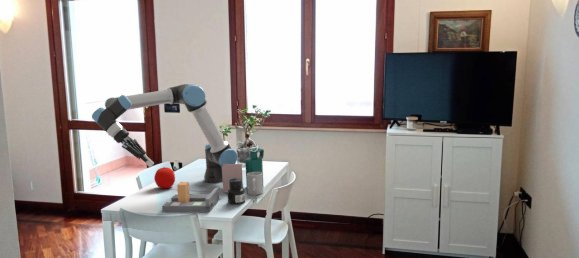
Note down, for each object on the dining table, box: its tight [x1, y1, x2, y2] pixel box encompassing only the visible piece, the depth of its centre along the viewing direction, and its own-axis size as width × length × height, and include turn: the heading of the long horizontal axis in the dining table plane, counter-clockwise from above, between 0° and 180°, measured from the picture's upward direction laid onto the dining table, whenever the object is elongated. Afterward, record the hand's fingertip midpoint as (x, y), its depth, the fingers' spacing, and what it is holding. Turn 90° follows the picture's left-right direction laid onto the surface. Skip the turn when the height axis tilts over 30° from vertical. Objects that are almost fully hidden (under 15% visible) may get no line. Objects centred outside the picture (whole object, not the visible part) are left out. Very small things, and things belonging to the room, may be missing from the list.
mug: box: [246, 172, 264, 196], centre depth 253 cm, size 12×8×11 cm
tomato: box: [154, 166, 176, 189], centre depth 270 cm, size 12×12×13 cm
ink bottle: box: [227, 178, 246, 205], centre depth 239 cm, size 10×9×12 cm
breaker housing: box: [161, 187, 221, 213], centre depth 236 cm, size 24×20×6 cm
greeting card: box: [222, 163, 244, 193], centre depth 260 cm, size 11×7×15 cm, turn 74°
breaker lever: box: [176, 181, 190, 202], centre depth 235 cm, size 4×6×10 cm, turn 175°
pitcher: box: [244, 147, 265, 186], centre depth 266 cm, size 10×8×22 cm
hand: (152, 165), depth 234 cm, fingers closed
